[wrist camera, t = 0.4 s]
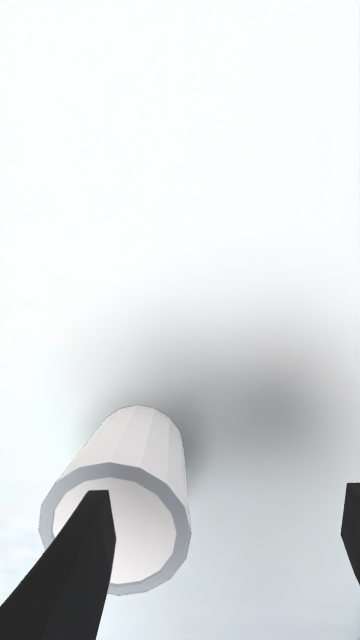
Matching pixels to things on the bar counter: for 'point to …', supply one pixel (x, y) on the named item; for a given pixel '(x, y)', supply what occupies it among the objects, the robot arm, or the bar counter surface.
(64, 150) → the bar counter surface
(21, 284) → the bar counter surface
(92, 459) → the white cylinder
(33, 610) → the robot arm
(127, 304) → the bar counter surface
